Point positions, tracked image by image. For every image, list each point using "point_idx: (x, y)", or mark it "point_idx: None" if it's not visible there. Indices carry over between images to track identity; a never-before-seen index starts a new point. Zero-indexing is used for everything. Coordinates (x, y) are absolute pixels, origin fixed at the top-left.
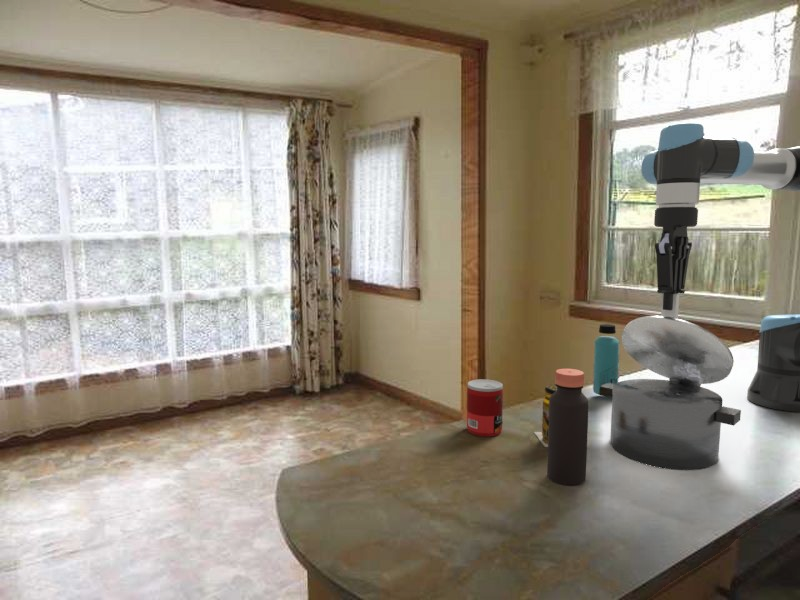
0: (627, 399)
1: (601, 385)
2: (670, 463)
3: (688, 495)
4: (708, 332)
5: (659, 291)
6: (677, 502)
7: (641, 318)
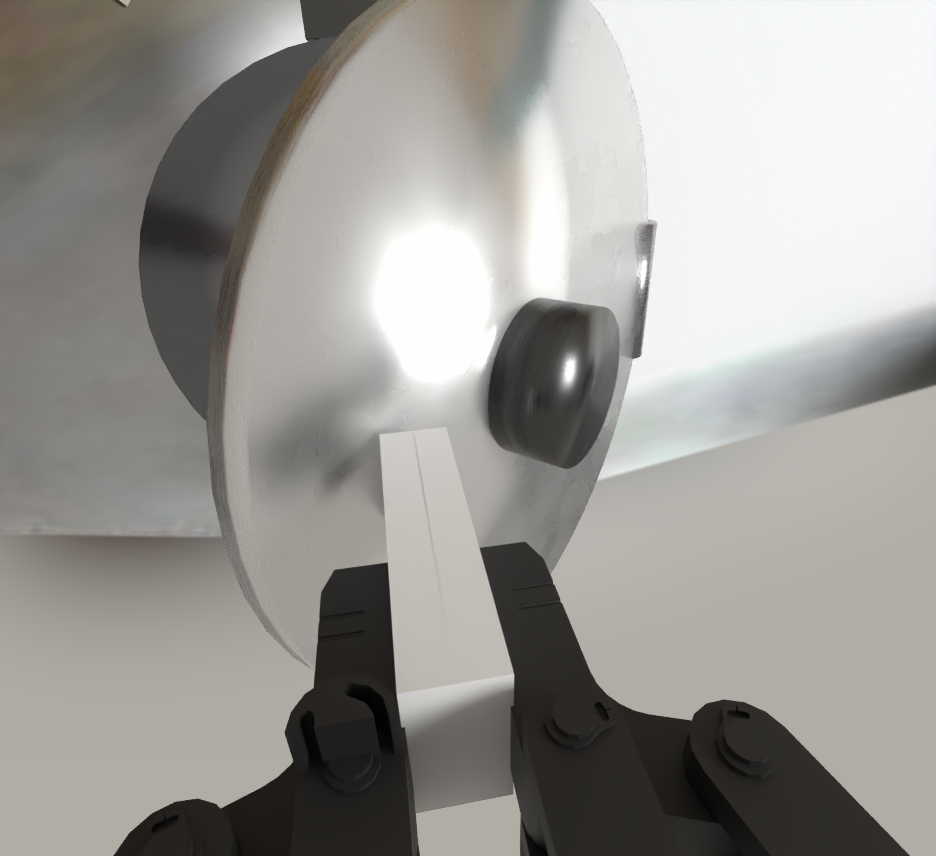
0: (141, 235)
1: None
2: None
3: (147, 430)
4: None
5: (300, 735)
6: (84, 431)
7: (241, 332)
